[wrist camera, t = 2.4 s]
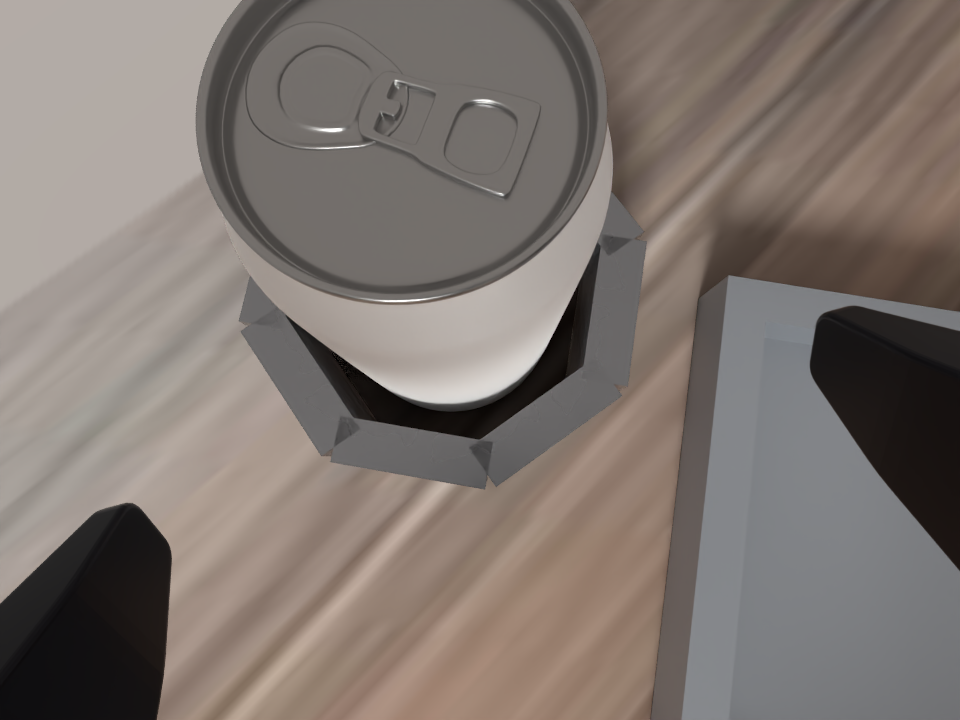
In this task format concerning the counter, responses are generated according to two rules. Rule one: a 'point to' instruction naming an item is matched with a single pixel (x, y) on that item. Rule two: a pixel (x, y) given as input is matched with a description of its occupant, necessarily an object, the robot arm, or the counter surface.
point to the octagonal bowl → (448, 458)
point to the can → (412, 178)
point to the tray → (794, 538)
